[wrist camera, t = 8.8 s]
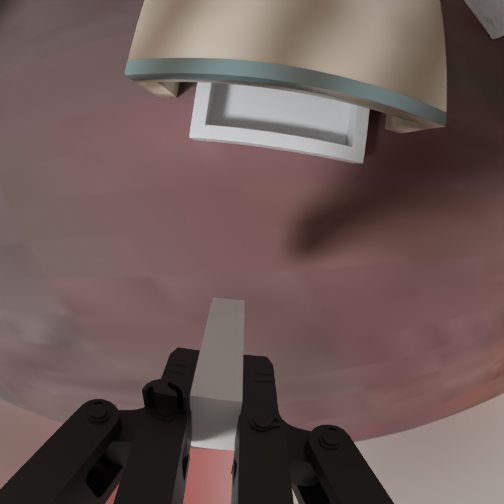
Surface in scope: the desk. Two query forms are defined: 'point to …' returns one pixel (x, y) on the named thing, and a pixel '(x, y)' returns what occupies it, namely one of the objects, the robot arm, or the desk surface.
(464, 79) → the desk surface
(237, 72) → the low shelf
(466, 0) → the syrup box
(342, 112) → the white tray
